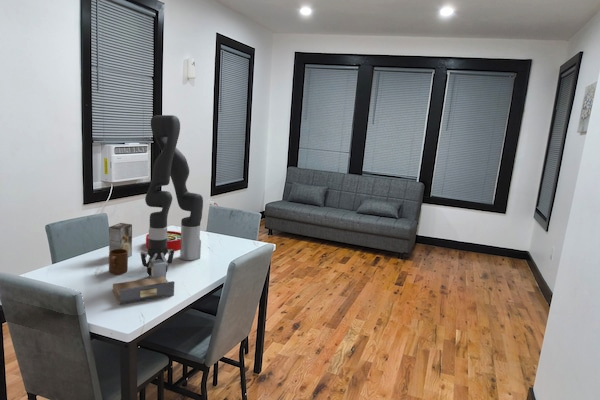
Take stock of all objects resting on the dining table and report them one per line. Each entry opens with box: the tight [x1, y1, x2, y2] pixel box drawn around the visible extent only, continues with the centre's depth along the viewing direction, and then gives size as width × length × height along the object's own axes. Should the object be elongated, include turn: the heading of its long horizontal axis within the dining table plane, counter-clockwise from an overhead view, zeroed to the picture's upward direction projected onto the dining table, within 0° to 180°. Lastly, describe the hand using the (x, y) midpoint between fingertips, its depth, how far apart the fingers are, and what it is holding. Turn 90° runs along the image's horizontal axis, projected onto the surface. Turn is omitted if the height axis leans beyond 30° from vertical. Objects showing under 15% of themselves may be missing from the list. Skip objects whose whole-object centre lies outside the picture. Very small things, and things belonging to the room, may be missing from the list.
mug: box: [108, 249, 129, 275], centre depth 175 cm, size 12×8×9 cm, turn 3°
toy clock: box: [145, 230, 181, 252], centre depth 217 cm, size 20×6×20 cm
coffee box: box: [108, 222, 133, 258], centre depth 194 cm, size 9×6×16 cm
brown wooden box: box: [112, 276, 175, 306], centre depth 159 cm, size 20×14×6 cm
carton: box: [148, 260, 167, 279], centre depth 174 cm, size 6×8×8 cm
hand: (157, 273), depth 174 cm, fingers closed on carton, 5 cm apart
